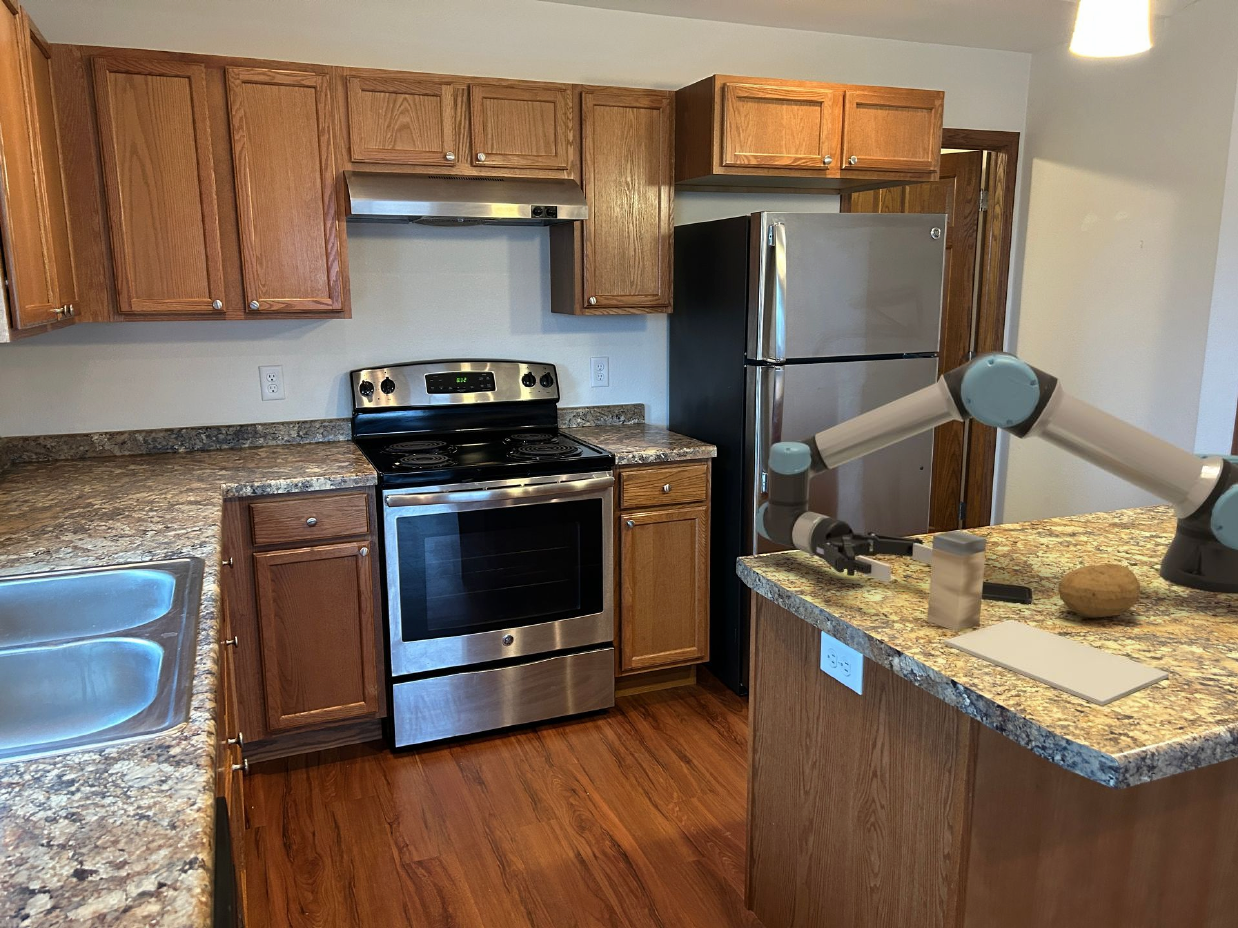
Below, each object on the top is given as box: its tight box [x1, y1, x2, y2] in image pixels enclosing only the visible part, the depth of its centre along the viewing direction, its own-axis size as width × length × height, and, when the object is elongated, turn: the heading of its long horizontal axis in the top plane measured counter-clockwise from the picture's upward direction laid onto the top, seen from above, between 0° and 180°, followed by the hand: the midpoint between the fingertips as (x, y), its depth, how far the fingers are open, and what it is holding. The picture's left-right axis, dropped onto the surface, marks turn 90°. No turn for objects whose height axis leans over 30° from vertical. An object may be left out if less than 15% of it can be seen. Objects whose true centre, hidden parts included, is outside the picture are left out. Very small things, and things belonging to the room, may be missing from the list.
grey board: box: [944, 619, 1170, 707], centre depth 130 cm, size 24×16×1 cm, turn 33°
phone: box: [981, 581, 1033, 606], centre depth 159 cm, size 8×1×15 cm
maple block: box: [927, 530, 987, 633], centre depth 143 cm, size 6×6×14 cm
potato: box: [1058, 563, 1141, 619], centre depth 147 cm, size 10×14×8 cm
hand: (918, 567), depth 149 cm, fingers open, 13 cm apart
